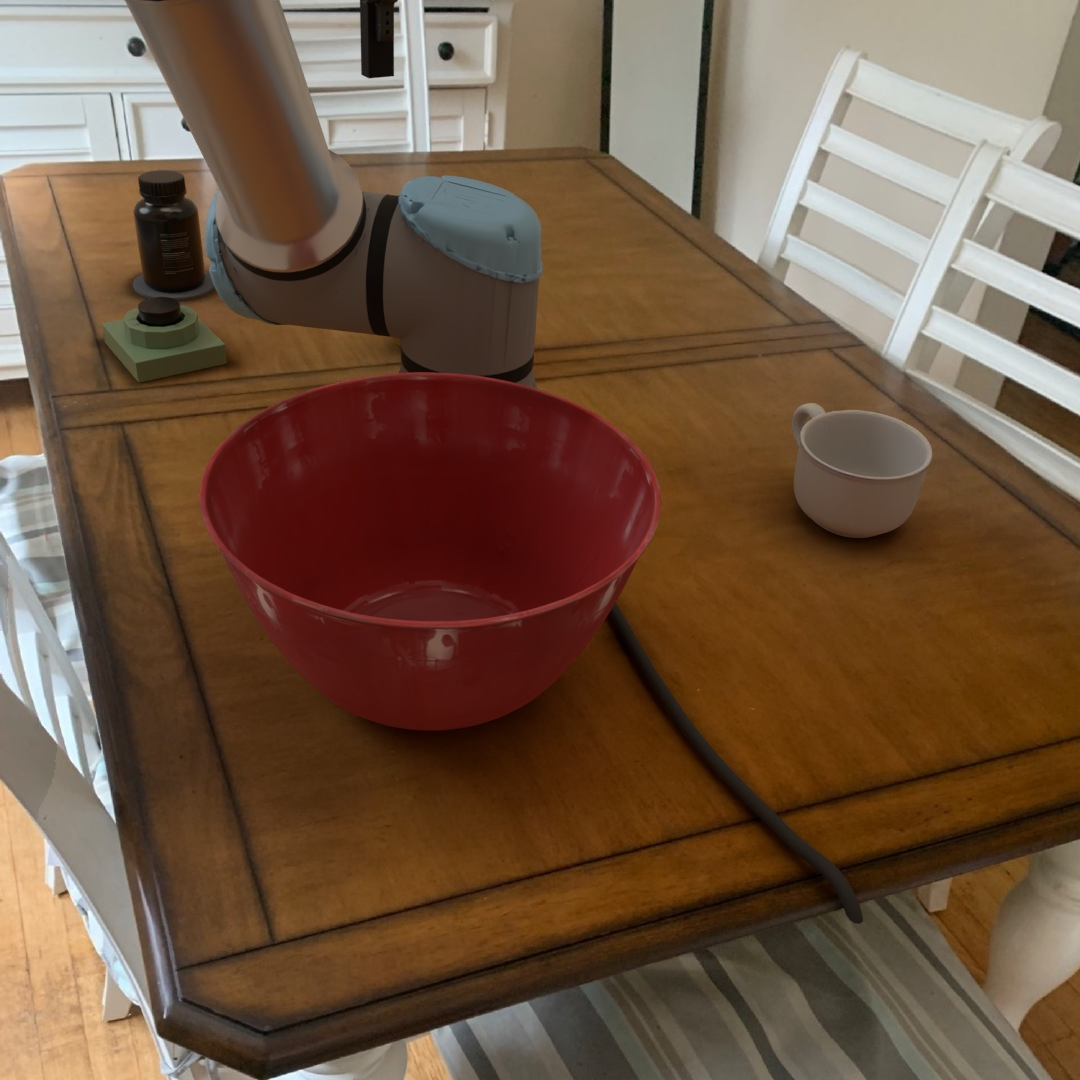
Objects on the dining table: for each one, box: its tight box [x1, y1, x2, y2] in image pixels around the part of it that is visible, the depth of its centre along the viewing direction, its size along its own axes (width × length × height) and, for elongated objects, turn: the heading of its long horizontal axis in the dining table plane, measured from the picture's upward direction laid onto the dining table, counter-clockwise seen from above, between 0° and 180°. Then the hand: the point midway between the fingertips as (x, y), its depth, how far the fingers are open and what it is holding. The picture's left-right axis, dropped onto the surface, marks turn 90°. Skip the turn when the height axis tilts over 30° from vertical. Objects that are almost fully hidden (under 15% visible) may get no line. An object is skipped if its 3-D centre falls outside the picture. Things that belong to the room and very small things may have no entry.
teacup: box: [791, 402, 933, 539], centre depth 97 cm, size 14×11×8 cm
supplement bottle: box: [132, 169, 206, 292], centre depth 125 cm, size 7×7×12 cm
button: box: [137, 297, 182, 327], centre depth 112 cm, size 4×4×2 cm
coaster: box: [132, 271, 215, 302], centre depth 128 cm, size 9×9×1 cm
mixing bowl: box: [198, 372, 663, 731], centre depth 75 cm, size 28×28×16 cm
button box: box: [101, 304, 228, 384], centre depth 114 cm, size 10×9×4 cm
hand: (377, 75), depth 107 cm, fingers closed
